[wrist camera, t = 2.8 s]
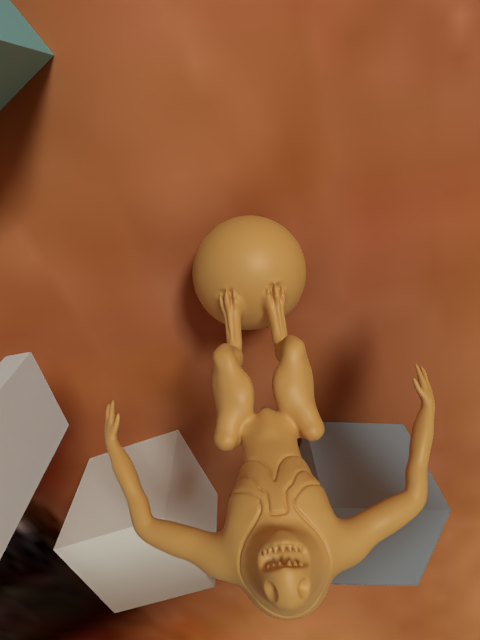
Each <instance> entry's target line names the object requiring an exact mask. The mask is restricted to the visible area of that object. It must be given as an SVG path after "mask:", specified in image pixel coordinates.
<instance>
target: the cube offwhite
mask: <svg viewBox="0 0 480 640" xmlns="http://www.w3.org/2000/svg"><path fill="white" fill-rule="evenodd" d="M123 449H124V450H125V451H126V453H127V454H128V456H129V457H130V459H131V461H132V463H133V465H134V467H135V469H136V471H137V474H138V477H139V480H140V484H141V486H142V489H143V491H144V493H145V494H146V496H147V498H148V501H149V505H150V510H151V514H152V516H153V517H154V518H157V519H163V520H168V521H173V522H177V523H180V524H184V525H187V526H191V527H195V528H198V529H201V530H205V531H209V532H216V530H217V497H218V494H217V492H216V491H215V489H214V487H213V486H212V484H211V483H210V481H209V479H208V478H207V476H206V474H205V473H204V471H203V470H202V468H201V466H200V465H199V463H198V461H197V460H196V458H195V456H194V455H193V453H192V452H191V450H190V448H189V447H188V445H187V443H186V442H185V440H184V439H183V437H182V435H181V434H180V432H179V430H175V431H172V432H169V433H166V434H163V435H160V436H157V437H154V438H151V439H148V440H145V441H142V442H139V443H135V444H132V445H129V446H126V447H123ZM53 550H54V551H55V552H56V553H57V554H58V555H59V556H60V557H61V559H62V560H63V561H64V562H65V563H66V564H67V565H68V566H69V567H70V568H71V569H72V570H73V571H74V572H75V573H76V574H77V575H78V576H79V577H80V578H81V579H82V580H83V581H84V582H85V583H86V584H87V585H88V586H89V587H90V588H91V589H92V590H93V591H94V593H95V594H96V595H97V596H98V597H99V598H100V599H101V600H102V601H103V602H104V603H105V604H106V605H107V606H108V607H109V608H110V609H111V610H112V611H113V612H114V613H117V612H121V611H125V610H129V609H133V608H136V607H140V606H144V605H148V604H152V603H156V602H159V601H163V600H167V599H171V598H175V597H179V596H182V595H186V594H190V593H194V592H198V591H202V590H205V589H209V588H213V587H215V578H213V577H211V576H209V575H208V574H206V573H205V572H203V571H202V570H201V569H200V568H198V567H197V566H196V565H194V564H192V563H190V562H188V561H186V560H183V559H180V558H177V557H174V556H172V555H169V554H167V553H165V552H163V551H161V550H158V549H156V548H154V547H152V546H151V545H149V544H147V543H146V542H145V541H143V540H142V539H141V538H140V537H139V536H138V535H137V533H136V532H135V530H134V527H133V524H132V521H131V516H130V512H129V507H128V503H127V500H126V497H125V495H124V493H123V491H122V489H121V486H120V484H119V482H118V480H117V478H116V476H115V474H114V472H113V469H112V465H111V460H110V457H109V454H108V453H105V454H102V455H99V456H96V457H93V458H90V459H89V461H88V464H87V466H86V469H85V471H84V474H83V476H82V479H81V481H80V484H79V486H78V489H77V491H76V494H75V496H74V499H73V501H72V504H71V506H70V509H69V511H68V514H67V516H66V519H65V522H64V524H63V527H62V529H61V532H60V534H59V537H58V539H57V542H56V544H55V547H54V549H53Z"/></svg>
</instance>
